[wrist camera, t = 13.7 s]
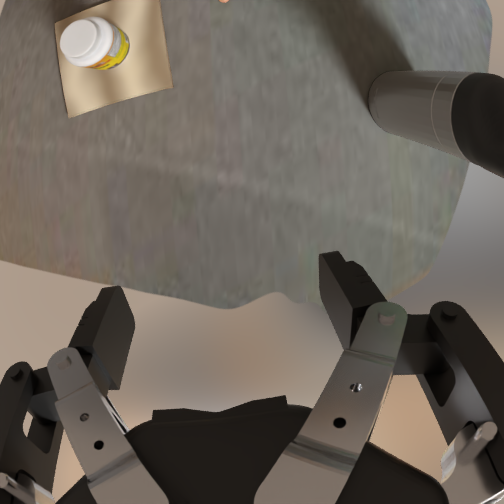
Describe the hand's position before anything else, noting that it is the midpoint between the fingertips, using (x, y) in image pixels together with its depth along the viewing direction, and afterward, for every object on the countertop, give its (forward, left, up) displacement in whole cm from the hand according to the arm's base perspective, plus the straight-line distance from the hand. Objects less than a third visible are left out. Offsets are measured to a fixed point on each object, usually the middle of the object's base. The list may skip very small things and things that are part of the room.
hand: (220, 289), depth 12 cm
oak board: (+11, -16, -30) cm, 35 cm away
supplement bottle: (+11, -16, -29) cm, 35 cm away
